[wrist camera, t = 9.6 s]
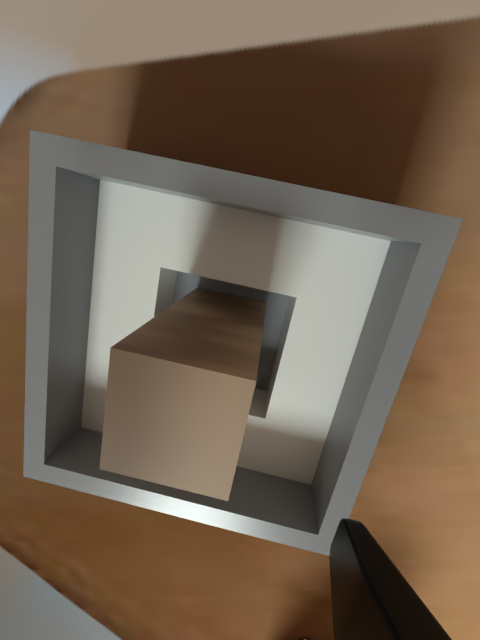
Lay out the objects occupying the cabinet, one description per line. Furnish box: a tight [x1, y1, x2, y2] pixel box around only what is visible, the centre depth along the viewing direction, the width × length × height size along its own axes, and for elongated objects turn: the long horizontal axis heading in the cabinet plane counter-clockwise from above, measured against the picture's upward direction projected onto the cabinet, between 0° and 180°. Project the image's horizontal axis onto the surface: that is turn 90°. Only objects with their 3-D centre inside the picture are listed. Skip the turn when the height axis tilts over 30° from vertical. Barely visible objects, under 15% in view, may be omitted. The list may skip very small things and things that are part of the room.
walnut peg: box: [99, 287, 267, 501], centre depth 14 cm, size 4×4×10 cm
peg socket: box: [23, 130, 463, 556], centre depth 16 cm, size 15×15×7 cm
